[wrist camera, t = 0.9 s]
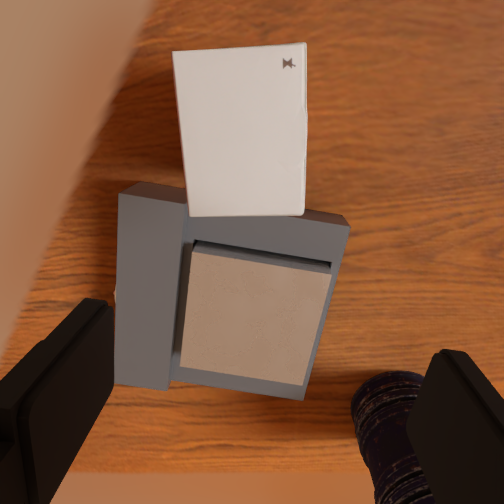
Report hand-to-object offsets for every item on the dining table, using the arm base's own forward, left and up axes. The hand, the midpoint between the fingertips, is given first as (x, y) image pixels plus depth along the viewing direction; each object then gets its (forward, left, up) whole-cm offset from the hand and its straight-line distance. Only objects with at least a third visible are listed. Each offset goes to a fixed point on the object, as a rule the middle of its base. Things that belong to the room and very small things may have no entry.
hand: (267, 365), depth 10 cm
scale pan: (+10, 0, -20) cm, 22 cm away
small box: (-5, -2, -23) cm, 24 cm away
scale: (+10, -2, -23) cm, 25 cm away
